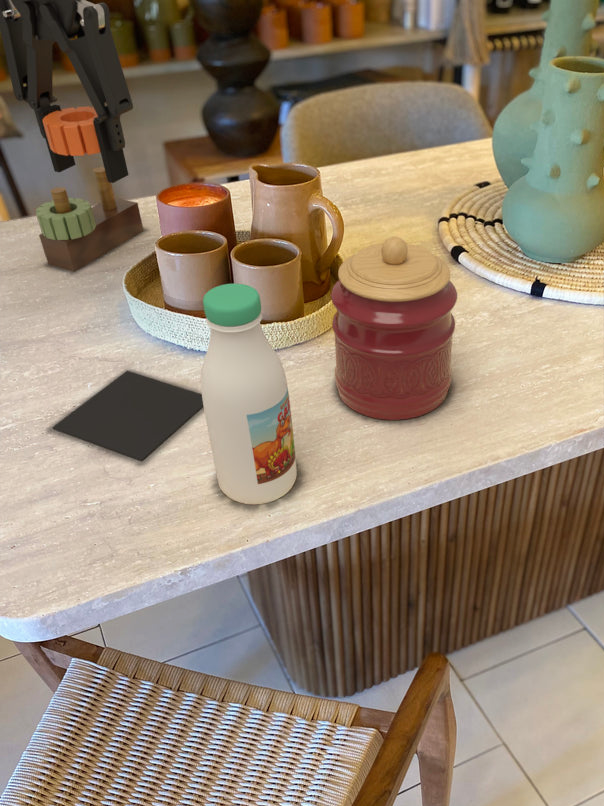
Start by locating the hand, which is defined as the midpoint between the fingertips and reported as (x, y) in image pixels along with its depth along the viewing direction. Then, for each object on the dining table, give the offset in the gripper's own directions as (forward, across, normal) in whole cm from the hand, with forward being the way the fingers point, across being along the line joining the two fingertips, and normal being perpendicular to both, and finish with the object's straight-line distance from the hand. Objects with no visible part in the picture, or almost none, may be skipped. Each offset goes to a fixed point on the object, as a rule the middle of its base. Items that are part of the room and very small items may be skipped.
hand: (91, 172), depth 89 cm
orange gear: (-3, 0, 0) cm, 3 cm away
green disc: (+13, +16, -8) cm, 22 cm away
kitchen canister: (+18, -39, +2) cm, 43 cm away
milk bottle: (+18, -34, +22) cm, 44 cm away
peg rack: (+17, +15, -12) cm, 26 cm away
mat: (+17, -16, +18) cm, 30 cm away
